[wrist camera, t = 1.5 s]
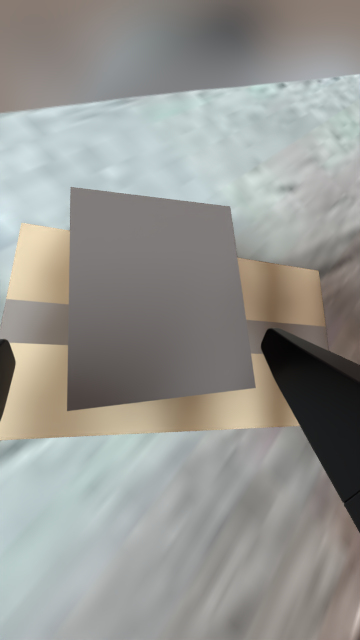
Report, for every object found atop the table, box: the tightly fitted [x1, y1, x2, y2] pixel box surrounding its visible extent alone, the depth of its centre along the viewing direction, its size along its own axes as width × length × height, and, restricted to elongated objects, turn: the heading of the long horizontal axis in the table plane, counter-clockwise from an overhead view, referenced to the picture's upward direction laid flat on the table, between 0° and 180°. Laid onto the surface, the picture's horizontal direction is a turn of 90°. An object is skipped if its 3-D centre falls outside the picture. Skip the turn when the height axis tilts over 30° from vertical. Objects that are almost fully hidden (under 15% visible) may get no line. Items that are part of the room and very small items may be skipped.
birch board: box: [0, 223, 329, 440], centre depth 16 cm, size 22×12×3 cm, turn 89°
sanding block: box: [67, 187, 256, 411], centre depth 10 cm, size 6×5×8 cm
